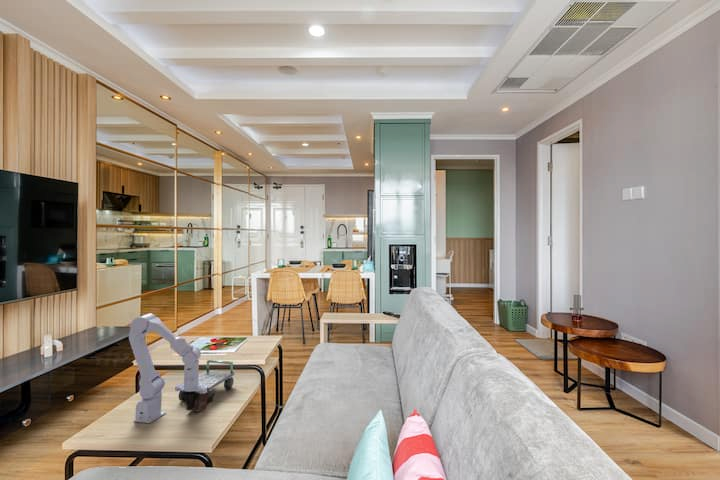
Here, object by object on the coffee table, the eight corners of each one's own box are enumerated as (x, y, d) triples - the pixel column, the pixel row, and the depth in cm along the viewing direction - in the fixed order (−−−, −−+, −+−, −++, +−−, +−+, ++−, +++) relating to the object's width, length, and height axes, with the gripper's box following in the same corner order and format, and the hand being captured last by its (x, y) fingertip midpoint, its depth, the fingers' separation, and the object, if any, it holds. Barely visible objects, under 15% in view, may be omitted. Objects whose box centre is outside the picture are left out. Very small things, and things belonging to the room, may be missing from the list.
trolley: (207, 405, 160) (208, 376, 160) (177, 402, 163) (178, 373, 163) (234, 386, 182) (234, 361, 183) (207, 384, 185) (208, 359, 186)
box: (205, 409, 156) (209, 392, 158) (197, 411, 150) (200, 393, 152) (194, 408, 157) (197, 390, 159) (185, 410, 151) (188, 392, 154)
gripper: (211, 374, 153) (211, 405, 153) (183, 372, 156) (182, 403, 156) (201, 380, 146) (200, 412, 146) (171, 378, 149) (171, 409, 149)
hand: (190, 408), depth 150 cm, fingers closed, pressing on box
